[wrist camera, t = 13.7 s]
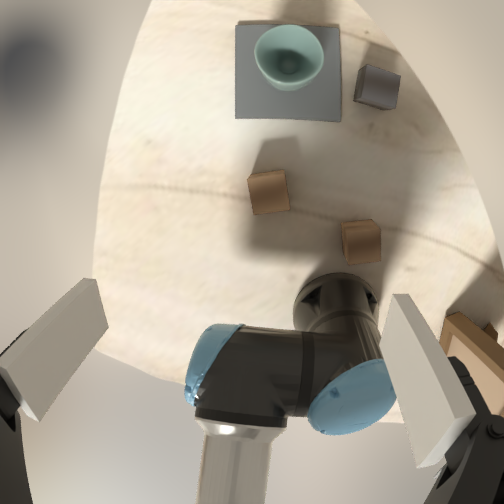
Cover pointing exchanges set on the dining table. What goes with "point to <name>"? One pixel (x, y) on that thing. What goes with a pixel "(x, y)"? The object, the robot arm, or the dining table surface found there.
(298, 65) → the cup
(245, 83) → the slate board
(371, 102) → the charcoal block front
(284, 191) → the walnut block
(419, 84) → the dining table surface
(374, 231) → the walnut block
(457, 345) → the photo frame
